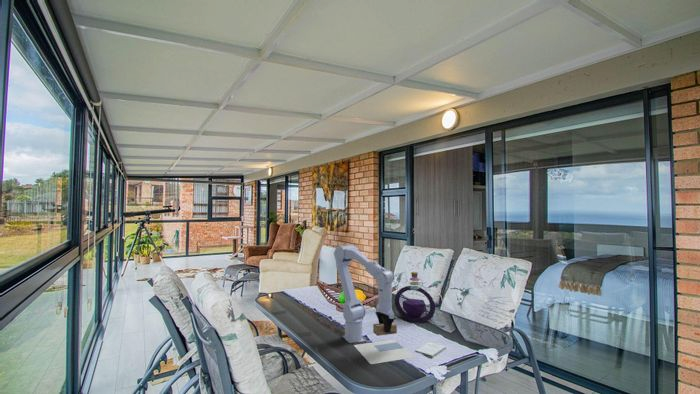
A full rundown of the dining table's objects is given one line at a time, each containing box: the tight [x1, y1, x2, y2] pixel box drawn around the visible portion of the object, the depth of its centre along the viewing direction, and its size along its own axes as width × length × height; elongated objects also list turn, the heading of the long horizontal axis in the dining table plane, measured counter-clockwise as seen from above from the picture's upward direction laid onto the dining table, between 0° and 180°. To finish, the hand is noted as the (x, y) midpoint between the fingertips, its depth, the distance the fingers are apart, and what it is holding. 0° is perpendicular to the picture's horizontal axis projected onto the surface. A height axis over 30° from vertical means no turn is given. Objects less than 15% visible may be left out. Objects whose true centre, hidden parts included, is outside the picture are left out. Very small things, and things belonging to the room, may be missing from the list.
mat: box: [353, 339, 416, 365], centre depth 155 cm, size 20×20×1 cm
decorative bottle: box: [394, 271, 436, 324], centre depth 202 cm, size 22×21×25 cm
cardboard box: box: [372, 322, 398, 337], centre depth 156 cm, size 9×4×4 cm, turn 109°
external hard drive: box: [414, 342, 446, 359], centre depth 157 cm, size 2×8×12 cm
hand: (385, 330), depth 156 cm, fingers closed on cardboard box, 4 cm apart
